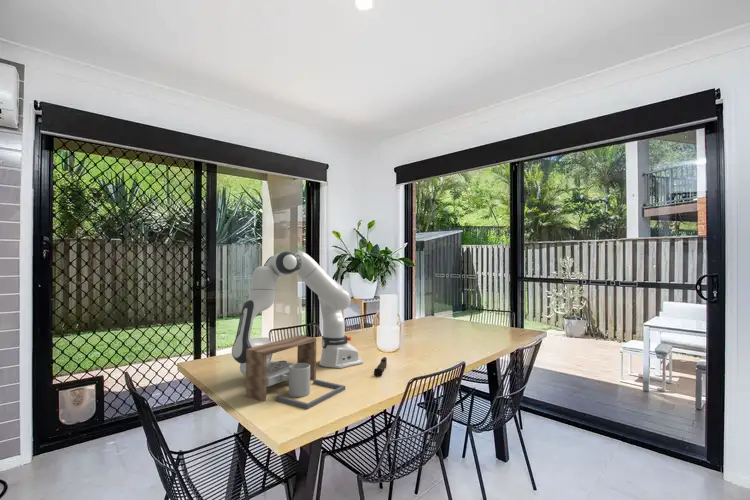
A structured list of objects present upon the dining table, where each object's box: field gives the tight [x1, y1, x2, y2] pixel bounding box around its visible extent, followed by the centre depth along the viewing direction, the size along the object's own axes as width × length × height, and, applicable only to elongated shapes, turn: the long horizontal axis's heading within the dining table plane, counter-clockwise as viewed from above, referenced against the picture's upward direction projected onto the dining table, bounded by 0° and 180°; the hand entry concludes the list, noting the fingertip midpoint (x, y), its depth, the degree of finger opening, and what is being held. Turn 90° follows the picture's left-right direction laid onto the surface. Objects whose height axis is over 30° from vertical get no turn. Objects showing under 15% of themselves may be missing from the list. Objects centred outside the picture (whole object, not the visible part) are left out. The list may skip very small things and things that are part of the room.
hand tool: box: [373, 356, 388, 377], centre depth 181 cm, size 19×4×5 cm, turn 166°
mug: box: [288, 362, 311, 398], centre depth 152 cm, size 12×8×11 cm
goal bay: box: [275, 378, 346, 410], centre depth 149 cm, size 16×23×2 cm
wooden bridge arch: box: [245, 335, 317, 403], centre depth 157 cm, size 10×30×18 cm, turn 149°
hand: (294, 377), depth 154 cm, fingers closed, pressing on mug
